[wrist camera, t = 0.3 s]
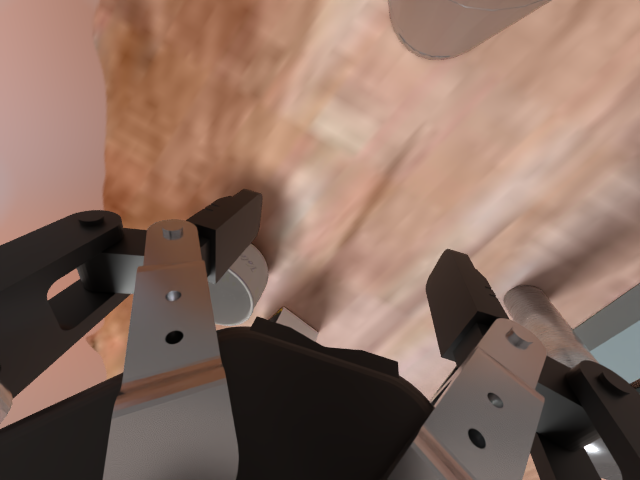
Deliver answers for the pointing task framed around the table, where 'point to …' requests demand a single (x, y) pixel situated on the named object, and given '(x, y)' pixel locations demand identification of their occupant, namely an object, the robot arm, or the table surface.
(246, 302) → the teacup
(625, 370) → the socket board
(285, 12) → the table surface
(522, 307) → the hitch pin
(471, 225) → the table surface
